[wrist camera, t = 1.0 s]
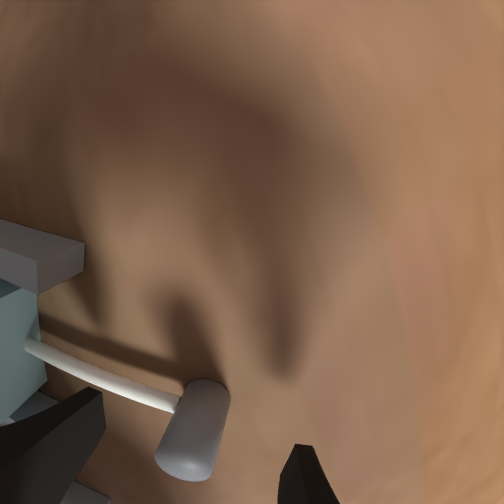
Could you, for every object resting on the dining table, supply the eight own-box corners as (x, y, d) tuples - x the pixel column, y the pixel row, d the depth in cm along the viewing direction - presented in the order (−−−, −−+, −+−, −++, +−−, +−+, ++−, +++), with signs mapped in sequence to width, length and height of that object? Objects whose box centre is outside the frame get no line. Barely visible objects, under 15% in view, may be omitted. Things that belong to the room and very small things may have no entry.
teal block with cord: (220, 445, 13) (201, 517, 9) (-16, 342, 14) (-60, 371, 9) (243, 345, 12) (222, 427, 7) (-28, 253, 12) (-85, 273, 8)
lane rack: (111, 504, 16) (98, 530, 13) (5, 444, 17) (-11, 462, 14) (85, 242, 11) (36, 261, 8) (-45, 205, 12) (-81, 212, 9)
